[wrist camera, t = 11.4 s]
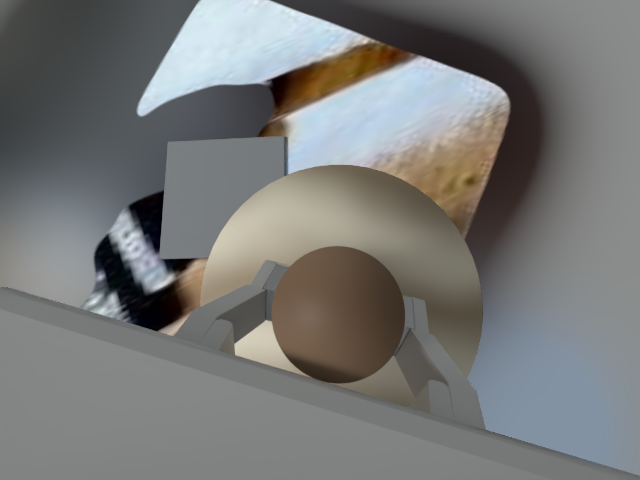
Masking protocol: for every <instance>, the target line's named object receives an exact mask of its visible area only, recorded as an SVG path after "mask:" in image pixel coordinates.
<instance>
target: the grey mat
mask: <svg viewBox="0 0 640 480" xmlns="http://www.w3.org/2000/svg"><path fill="white" fill-rule="evenodd" d="M284 176H285V137H284V136H276V137H256V138H236V139H219V140H218V139H217V140H197V141H180V142H179V141H177V142H168V149H167V162H166V176H165V189H164V203H163V216H162V229H161V243H160V256H159V259H186V258H209V256H210V253H211V251H212V248H213V246H214V244H215V242H216V240H217V238H218V236H219V234H220V233H221V231H222V229H223V228H224V227H225V225H226V224H227V222H228V221H229V219H230V218H231V217H232V216H233V214H234V213H235V212H236V211H237V210H238V209H239V208H240V207H241V206H242V204H244V203H245V202H246V201H247V200H248V199H249V198H250V197H252V196H253V195H254V194H255V193H257V192H258V191H259V190H261V189H262V188H264V187H265V186H267V185H268V184H270V183H272V182H274V181H276V180H278V179H280V178H282V177H284Z"/></svg>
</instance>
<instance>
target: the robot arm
mask: <svg viewBox="0 0 640 480" xmlns="http://www.w3.org/2000/svg"><path fill="white" fill-rule="evenodd" d="M289 267H290V265H286V264H282V263H279V262H274V261H271V260H268V259H267V260H265V261H264V263H263V264H262V266H261V267H260V269H259V271H258V272H257V274H256V276H255V277H254V279H253V280H252V282H251V284H250V285H247V284H246V285H244V286H242V287H240V288H238V289H236V290H234V291H232V292H230V293H228V294H226V295H224V296H222V297H219V298H217V299H215V300H213V301H211V302H209V303H207V304H205V305H203V306H201V307H199V308H197V309H195V310H194V311H193V312H192V313H191V314H190V316H189V317H188V318H187V320H186V321H185V322H184V324H183V325H182V326H181V327H180V329H179V330H178V331H177V333H176V334H175V335H174V336H170V335H167V334H163V333H160V332H156V331H153V330H150V329H146V328H143V327H140V326H136V325H133V324H130V323H126V322H123V321H120V320H116V319H113V318H110V317H106V316H103V315H100V314H96V313H93V312H90V311H86V310H83V309H80V308H76V307H73V306H69V305H66V304H63V303H60V302H56V301H53V300H49V299H46V298H43V297H39V296H36V295H33V294H29V293H27V292H23V291H20V290H17V289H13V288H8V287H0V480H640V476H638V475H635V474H632V473H628V472H625V471H622V470H618V469H615V468H612V467H608V466H605V465H602V464H598V463H595V462H592V461H588V460H585V459H581V458H578V457H575V456H572V455H568V454H565V453H562V452H558V451H555V450H551V449H548V448H545V447H541V446H538V445H535V444H532V443H528V442H525V441H521V440H518V439H515V438H511V437H508V436H505V435H501V434H498V433H495V432H491V431H488V430H486V429H485V425H484V421H483V417H482V412H481V408H480V404H479V400H478V395H477V392H476V390H475V389H474V388H473V386H472V385H471V384H470V382H469V381H468V380H467V378H466V377H465V376H464V374H463V373H462V372H461V371H460V369H459V368H458V367H457V365H456V364H455V363H454V361H453V360H452V359H451V358H450V356H449V355H448V354H447V352H446V351H445V350H444V348H443V347H442V346H441V344H440V343H439V342H438V341H437V339H436V338H435V337H434V335H432V334H429V327H428V319H427V311H426V303H425V301H424V300H422V299H418V298H414V297H409V296H405V295H402V297H403V300H404V306H405V326H404V331H403V335H402V339H401V341H400V344H399V346H398V348H397V350H396V351H395V353H394V355H393V356H395V359H396V361H397V363H398V365H399V367H400V369H401V371H402V373H403V375H404V377H405V379H406V381H407V383H408V385H409V387H410V389H411V391H412V393H413V395H414V397H415V399H414V401H413V402H412V403H411V405H410V406H409V407H408V406H404V405H401V404H398V403H394V402H391V401H387V400H384V399H381V398H377V397H374V396H371V395H367V394H364V393H361V392H357V391H354V390H351V389H347V388H344V387H340V386H337V385H334V384H330V383H327V382H324V381H320V380H317V379H314V378H310V377H307V376H304V375H300V374H297V373H294V372H290V371H287V370H284V369H280V368H277V367H274V366H270V365H267V364H264V363H260V362H257V361H254V360H250V359H247V358H243V357H240V356H237V355H235V347H234V344H235V343H237V342H238V341H239V340H241V339H242V338H243V337H245V336H246V335H247V334H249V333H250V332H251V331H253V330H254V329H255V328H257V327H258V326H259V325H261V324H262V323H263V322H265V320H268V321H272V315H271V312H272V302H273V297H274V293H275V290H276V287H277V285H278V283H279V281H280V279H281V278H282V276H283V275H284V273H285V272H286V271H287V269H288V268H289Z"/></svg>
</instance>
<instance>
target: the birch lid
mask: <svg viewBox="0 0 640 480" xmlns="http://www.w3.org/2000/svg"><path fill="white" fill-rule="evenodd" d="M267 259H268V260H271V261H274V262H279V263H282V264H286V265H290V267H289V268H288V269H287V271H286V272H285V273H284V275H283V276H282V278H281V279H280V281H279V283H278V285H277V287H276V290H275V293H274V297H273V302H272V312H271V315H272V321H268V320H265V322H263V323H262V324H261V325H259V326H258V327H257V328H255V329H254V330H253V331H251V332H250V333H249V334H247V335H246V336H245V337H243V338H242V339H241V340H239V341H238V342H237V343H235V344H234V347H235V355H237V356H240V357H243V358H247V359H250V360H254V361H257V362H260V363H264V364H267V365H270V366H274V367H277V368H280V369H284V370H287V371H290V372H294V373H297V374H300V375H304V376H307V377H310V378H314V379H317V380H320V381H324V382H327V383H330V384H334V385H337V386H340V387H344V388H347V389H351V390H354V391H357V392H361V393H364V394H367V395H371V396H374V397H377V398H381V399H384V400H387V401H391V402H394V403H398V404H401V405H404V406H408V407H409V406H410V405H411V403H412V402H413V401H414V399H415V397H414V395H413V393H412V391H411V389H410V387H409V385H408V383H407V381H406V379H405V377H404V375H403V373H402V371H401V369H400V367H399V365H398V363H397V361H396V359H395V356H393V355H394V353H395V351H396V350H397V348H398V346H399V344H400V341H401V339H402V335H403V331H404V326H405V306H404V300H403V297H402V295H405V296H409V297H414V298H418V299H422V300H424V301H425V303H426V311H427V319H428V327H429V334H432V335H434V337H435V338H436V339H437V341H438V342H439V343H440V344H441V346H442V347H443V348H444V350H445V351H446V352H447V354H448V355H449V356H450V358H451V359H452V360H453V361H454V363H455V364H456V365H457V367H458V368H459V369H460V371H461V372H462V373H463V374H464V376H465V377H466V378H467V376H468V375H469V373H470V370H471V367H472V365H473V362H474V360H475V357H476V354H477V350H478V346H479V342H480V337H481V330H482V319H483V307H482V306H483V305H482V292H481V287H480V281H479V276H478V273H477V270H476V266H475V263H474V260H473V257H472V255H471V253H470V251H469V249H468V246H467V244H466V242H465V240H464V238H463V237H462V235H461V234H460V232H459V230H458V229H457V227H456V226H455V224H454V223H453V222H452V221H451V219H450V218H449V217H448V216H447V214H446V213H445V212H444V211H443V210H442V209H441V208H440V207H439V206H438V205H437V204H436V203H435V202H434V201H433V200H432V199H431V198H429V197H428V196H427V195H425V194H424V193H423V192H421V191H420V190H419V189H417V188H416V187H414V186H412V185H410V184H409V183H407V182H405V181H403V180H402V179H400V178H397V177H395V176H392V175H390V174H387V173H385V172H382V171H378V170H374V169H371V168H366V167H359V166H353V165H328V166H318V167H313V168H309V169H304V170H300V171H297V172H294V173H292V174H289V175H286V176H284V177H282V178H280V179H278V180H276V181H274V182H272V183H270V184H268V185H267V186H265V187H264V188H262V189H261V190H259V191H258V192H257V193H255V194H254V195H253V196H252V197H250V198H249V199H248V200H247V201H246V202H245V203H244V204H242V206H241V207H240V208H239V209H238V210H237V211H236V212H235V213H234V214H233V216H232V217H231V218H230V219H229V221H228V222H227V224H226V225H225V227H224V228H223V229H222V231H221V233H220V234H219V236H218V238H217V240H216V242H215V244H214V246H213V248H212V251H211V253H210V256H209V258H208V261H207V264H206V268H205V272H204V276H203V280H202V288H201V296H200V307H201V306H203V305H205V304H207V303H209V302H211V301H213V300H215V299H217V298H219V297H222V296H224V295H226V294H228V293H230V292H232V291H234V290H236V289H238V288H240V287H242V286H244V285H246V284H247V285H250V284H251V282H252V280H253V279H254V277H255V276H256V274H257V272H258V271H259V269H260V267H261V266H262V264H263V263H264V261H265V260H267Z"/></svg>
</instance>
